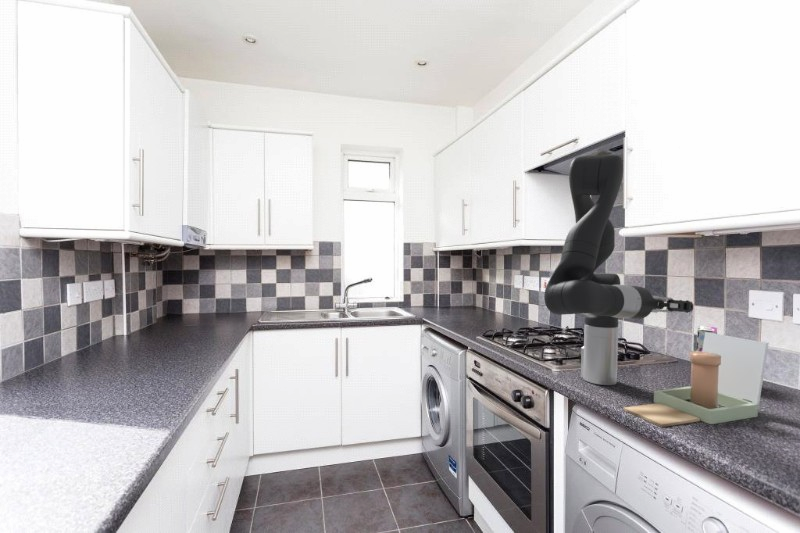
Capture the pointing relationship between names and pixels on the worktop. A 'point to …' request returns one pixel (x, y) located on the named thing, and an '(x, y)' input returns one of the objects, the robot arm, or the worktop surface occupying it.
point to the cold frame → (729, 412)
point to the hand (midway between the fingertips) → (672, 305)
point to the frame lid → (738, 365)
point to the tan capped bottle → (704, 378)
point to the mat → (661, 414)
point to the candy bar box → (703, 335)
